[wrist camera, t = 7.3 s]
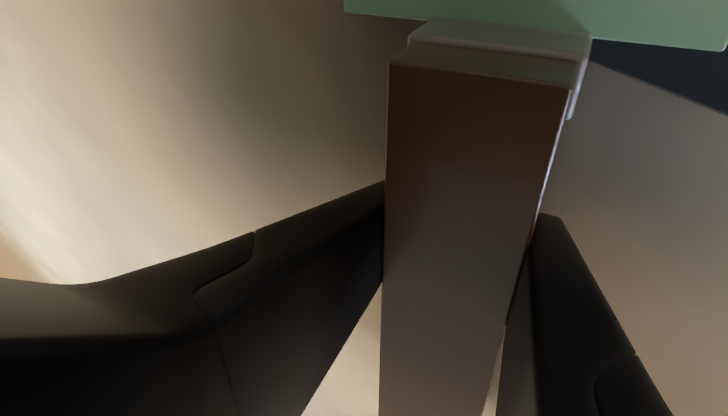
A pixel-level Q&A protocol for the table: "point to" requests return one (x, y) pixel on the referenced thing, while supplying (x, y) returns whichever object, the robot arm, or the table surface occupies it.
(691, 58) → the plate
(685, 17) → the spatula
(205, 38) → the table surface
